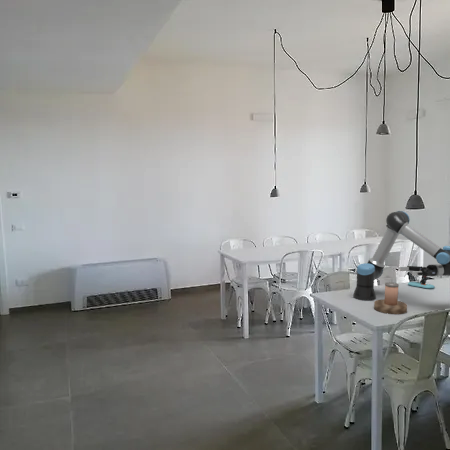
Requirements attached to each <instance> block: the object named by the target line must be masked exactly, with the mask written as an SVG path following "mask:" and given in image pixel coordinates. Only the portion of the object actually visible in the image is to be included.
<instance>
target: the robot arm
mask: <svg viewBox="0 0 450 450" xmlns="http://www.w3.org/2000/svg"><path fill="white" fill-rule="evenodd" d="M385 220H386V221H385V222H386V225H385V226H386V230H385V233H384V234H383V236H382V239H381V240H380V242H379V243H378V246H377V248H376V250H375V252H374V254H373V256H372V257H371V258H369V259H368V261H367V263H366V262H365V263H360V264H358V265H357V266H356V267H357V269H356V287H355V289H354V292H353V298H354V299H356V300H360V301H376V298H377V294H376V291H375V287H374V286H375V280H378V279H379V278H381V276H382V274H383V273H384V268H385V264H384V263H385V261H386V260H387V258H388V256H389V254H390V251H391V250H392V248H393V246H394V244H395V242H396V240H398V239H397V238H398V237H399V235H402V236H403V237H404V238H406V239H408V241H410V242H411V243H413V244H414V245H415V246H418V247H419V248H420V249H421V250H423V251H424V252H425V253H427V254H428V255H430V256H431V257H432V258H434V259H435V260H436V262H437V264H428V265H427V266H426V267H425V266H423V265H422V266H416V265H406V266H399V270H398V271H399V272H410V271H412V274H411V276H412V277H419V276H421V277H422V276H426V277H442V276H444V277H446V276H450V246H449V245H444V246H442V247H440V246H438V245H437V244H436V243H435V242H433V241H432V240H430V239H429V238H428V237H426V236H424V234H422V233H421V232H419V231H418V230H416V229H415V228H414V227H412V226H411V225H409V224H410V220H411V219H410V216H409V214H408V213H407V212H405V211H404V210H396V211H393V212H391V213H389V214H388V215H387V217H386V219H385ZM409 270H410V271H409Z"/></svg>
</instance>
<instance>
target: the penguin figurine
mask: <svg viewBox="0 0 450 450" xmlns="http://www.w3.org/2000/svg"><path fill="white" fill-rule="evenodd" d="M408 272H409V274H411V275H412V271H410V270H409V271H408ZM414 277H415V278H413V279H414V280H416V278H417V276H414ZM427 280H428V278H427V276H421V278H420V279H417V281H409V282H408V283H407V285H408V286H412V287H415V288H418V287H419V288H421V289H422V288H423V289H434V288H436V286H435V285H433V284H431V283H430V284H429V283H427Z"/></svg>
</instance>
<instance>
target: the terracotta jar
mask: <svg viewBox="0 0 450 450" xmlns="http://www.w3.org/2000/svg"><path fill="white" fill-rule="evenodd" d="M399 286H400V285H399V283H397V282H391V281H390V282H385V283H384V303H385V304H387V305H397V302H398V301H399V300H398V299H399Z"/></svg>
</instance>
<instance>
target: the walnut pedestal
mask: <svg viewBox="0 0 450 450" xmlns="http://www.w3.org/2000/svg"><path fill="white" fill-rule="evenodd" d="M384 299H385V298H384ZM384 299H377V300H376V299H375V300H374V302H373V303H374V304H373V309H374V310H375V311H377V312H379V313H382V314H387V313H388V315H403V314H407V312H408V304H407V303H406V302H404V301H401V300H398V302H397V305H387V304H385V303H384Z"/></svg>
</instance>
